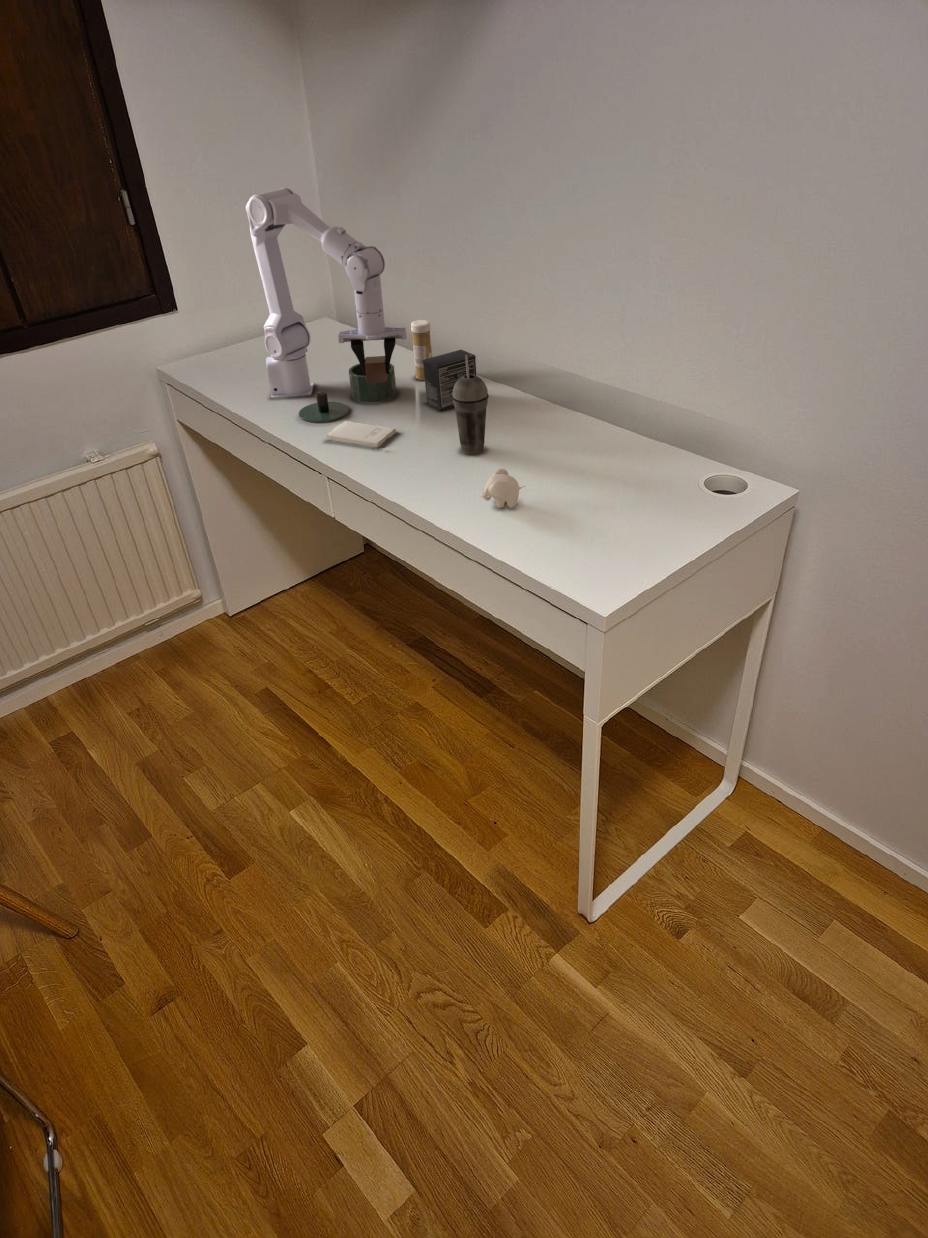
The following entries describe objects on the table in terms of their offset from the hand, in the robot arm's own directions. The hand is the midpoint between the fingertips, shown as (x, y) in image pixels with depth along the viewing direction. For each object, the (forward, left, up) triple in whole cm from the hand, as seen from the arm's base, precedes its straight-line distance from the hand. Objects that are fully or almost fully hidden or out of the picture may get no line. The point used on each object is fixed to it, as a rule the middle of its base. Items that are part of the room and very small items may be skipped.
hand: (376, 372), depth 190 cm
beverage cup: (+19, -25, -9) cm, 33 cm away
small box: (+16, +2, -9) cm, 19 cm away
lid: (-13, -1, -8) cm, 15 cm away
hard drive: (-4, -15, -9) cm, 18 cm away
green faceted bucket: (-2, +9, -9) cm, 13 cm away
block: (0, 0, -1) cm, 1 cm away
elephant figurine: (+23, -49, -9) cm, 55 cm away
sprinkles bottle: (+10, +19, -9) cm, 24 cm away
